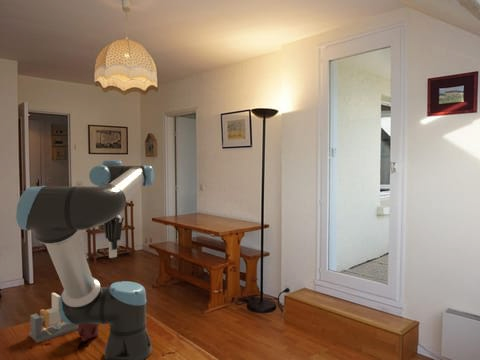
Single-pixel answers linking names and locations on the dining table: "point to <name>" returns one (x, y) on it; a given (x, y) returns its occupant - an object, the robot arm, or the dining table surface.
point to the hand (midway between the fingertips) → (113, 256)
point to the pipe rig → (48, 329)
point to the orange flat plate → (46, 314)
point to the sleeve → (55, 312)
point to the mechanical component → (88, 331)
